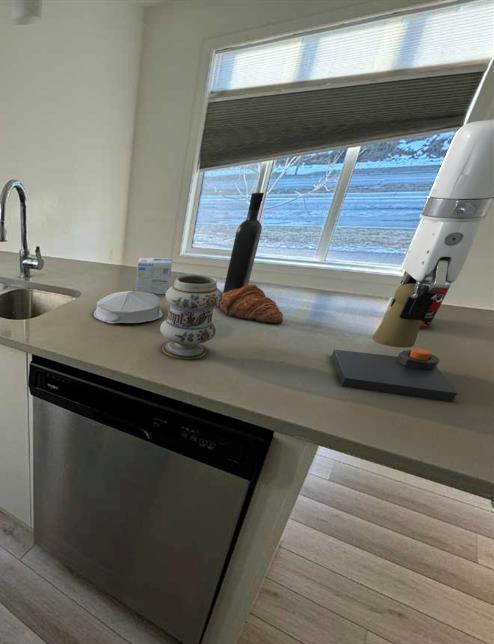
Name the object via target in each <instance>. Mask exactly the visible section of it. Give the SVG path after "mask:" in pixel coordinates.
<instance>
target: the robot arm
mask: <svg viewBox="0 0 494 644" xmlns="http://www.w3.org/2000/svg"><path fill="white" fill-rule="evenodd" d="M493 204H494V119H485V120H476V121H471V122H468V123H466V124H464V125H462V126H461V127H460V128H459V129H458V130H457V131H456V133H455V134H454V136H453V138H452V141H451V143H450V145H449V148H448V150H447V152H446V155H445V157H444V159H443V161H442V164H441V166H440V168H439V171H438V172H437V175H436V177H435V180H434V183H433V184H432V187H431V188H430V191H429V194H428V196H427V197H426V201H425V203H424V205H423V208H422V209H421V212H420V215H419V218H420V219H422V220H423V221H422V223H421V225H420V226H419V228H418V230H417V233H416V234H415V237H414V238H413V240H412V242H411V245H410V247H409V249H408V251H407V253H406V256H405V259H404V261H403V265H402V267H403V270H404V271H405V272H404V275H403V277H402V279H401V281H400V283H399V287H400V286H402V285H405V284H415V287H414V290H413V293H412V297H408V299H407V301H406V303H405V305H404V307H403V309H402V312H401V314H400V316H399V317H400V318H401V319H409V320H423V319H424V318H425V316H426V314H427V312H428V310H429V308H430V306H431V304H432V302H433V300H434V299H435V298H436V295H437V293H438V292H439V291H440V290H441V289H442V288H444V286H445V282H447V283H451V284H452V283H455V282H456V281H457V280H458V278H459V276H460V275H461V272H462V270H463V267H464V265H465V264H466V261H467V258H468V257H469V253H470V251H471V249H472V248H473V244H474V243H475V239H476V237H477V233H478V230H479V227H480V223H481V221H484V220H485V219H486V218H487V216H488V213H489V212H490V210H491V208H492V206H493ZM427 277H432V280H426V278H427ZM422 284H429V286H425V287H423V288H422V289H421V287H422ZM395 301H396V300H395V298H394V297H393V299H392V301H391V304H390V307H391V308H392V306H393V305H394V303H395Z"/></svg>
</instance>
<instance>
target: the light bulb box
mask: <svg viewBox="0 0 494 644" xmlns="http://www.w3.org/2000/svg"><path fill="white" fill-rule="evenodd" d="M172 266H173V257H166V258H165V257H140V258H139V259H138V261H137V265H136V274H135V275H136V276H135V283H134V291H137V292H146V293H150V294H154V295H166V292H167V290H168V289H169V288H170V287H169V286H170V279H171V271H172Z"/></svg>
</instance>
